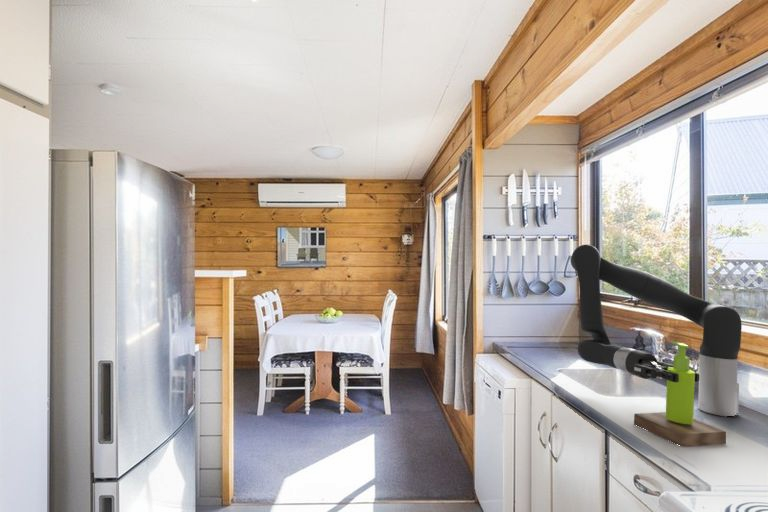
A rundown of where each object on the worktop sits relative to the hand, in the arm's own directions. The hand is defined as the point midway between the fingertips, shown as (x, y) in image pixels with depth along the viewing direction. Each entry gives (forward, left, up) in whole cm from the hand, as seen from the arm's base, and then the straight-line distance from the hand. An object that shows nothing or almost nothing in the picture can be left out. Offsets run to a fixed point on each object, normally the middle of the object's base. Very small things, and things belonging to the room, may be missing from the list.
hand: (687, 378), depth 107 cm
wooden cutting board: (0, -2, -15) cm, 15 cm away
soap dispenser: (0, -3, -12) cm, 12 cm away
